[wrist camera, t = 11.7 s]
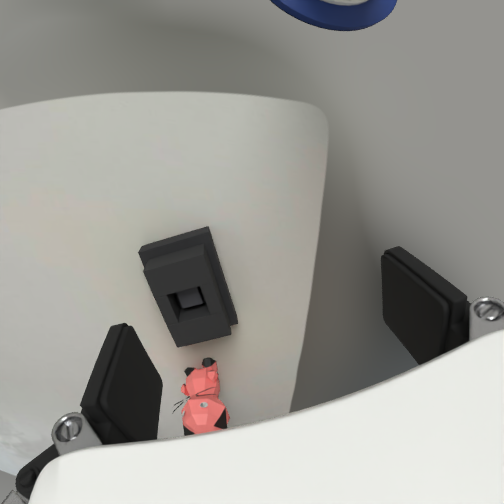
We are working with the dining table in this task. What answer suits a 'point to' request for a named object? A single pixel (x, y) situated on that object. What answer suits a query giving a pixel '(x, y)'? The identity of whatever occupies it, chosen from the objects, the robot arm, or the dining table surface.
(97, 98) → the dining table surface
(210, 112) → the dining table surface
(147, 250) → the base pad
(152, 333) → the dining table surface
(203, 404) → the cat figurine
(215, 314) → the black socket block
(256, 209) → the dining table surface
